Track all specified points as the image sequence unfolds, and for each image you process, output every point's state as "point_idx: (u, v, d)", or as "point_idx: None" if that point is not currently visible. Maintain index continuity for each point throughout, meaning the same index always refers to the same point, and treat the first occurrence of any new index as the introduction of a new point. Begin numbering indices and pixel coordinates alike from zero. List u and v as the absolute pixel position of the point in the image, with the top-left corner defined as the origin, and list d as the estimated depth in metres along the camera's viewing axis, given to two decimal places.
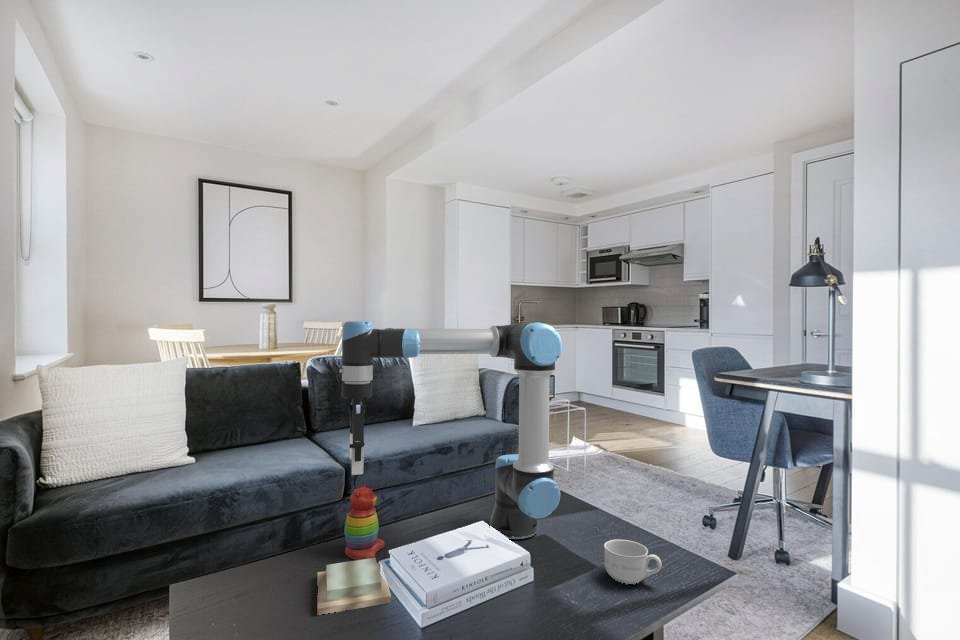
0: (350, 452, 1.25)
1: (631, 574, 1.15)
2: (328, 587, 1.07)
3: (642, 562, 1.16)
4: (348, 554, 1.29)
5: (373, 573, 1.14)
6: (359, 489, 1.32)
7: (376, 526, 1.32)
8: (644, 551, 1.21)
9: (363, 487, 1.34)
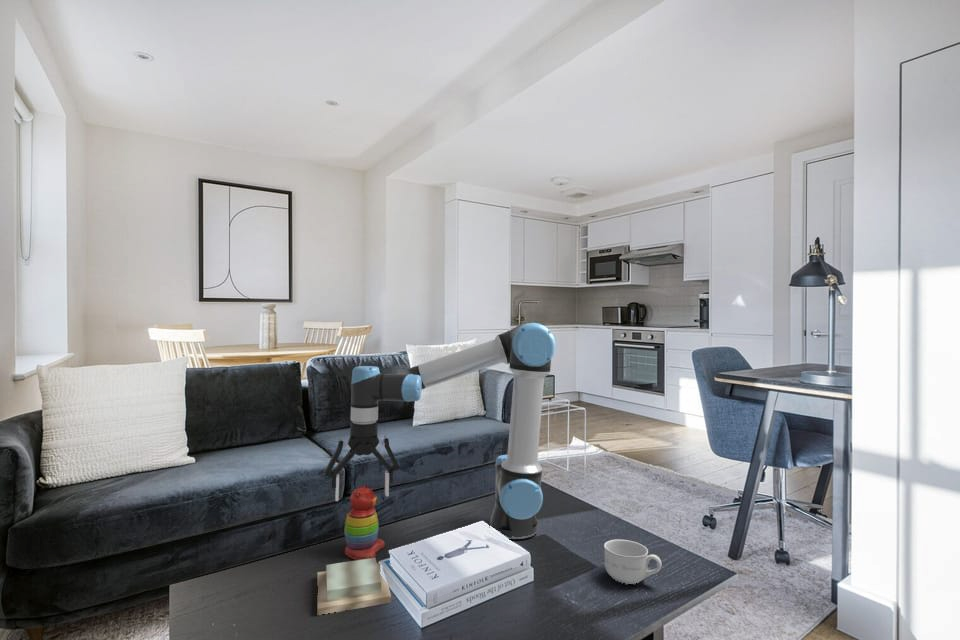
0: None
1: (631, 574, 1.15)
2: (328, 587, 1.07)
3: (642, 562, 1.16)
4: (348, 554, 1.29)
5: (373, 573, 1.14)
6: (359, 489, 1.32)
7: (376, 526, 1.32)
8: (644, 551, 1.21)
9: (363, 487, 1.34)
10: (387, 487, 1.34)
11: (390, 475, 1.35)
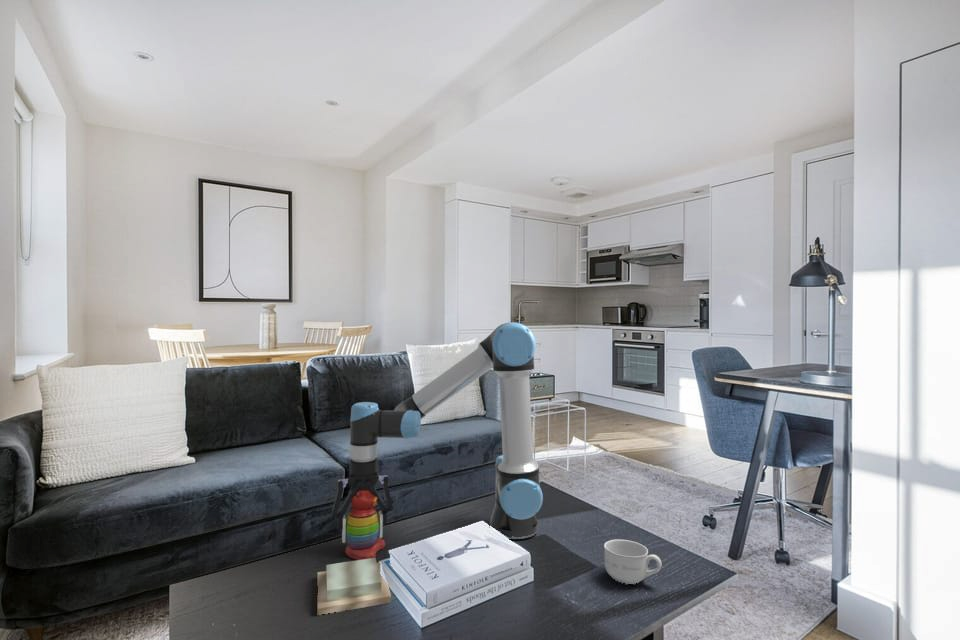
0: None
1: (631, 574, 1.15)
2: (328, 587, 1.07)
3: (642, 562, 1.16)
4: (349, 554, 1.29)
5: (373, 573, 1.14)
6: None
7: (377, 526, 1.32)
8: (644, 551, 1.21)
9: None
10: (381, 528, 1.33)
11: (384, 516, 1.34)
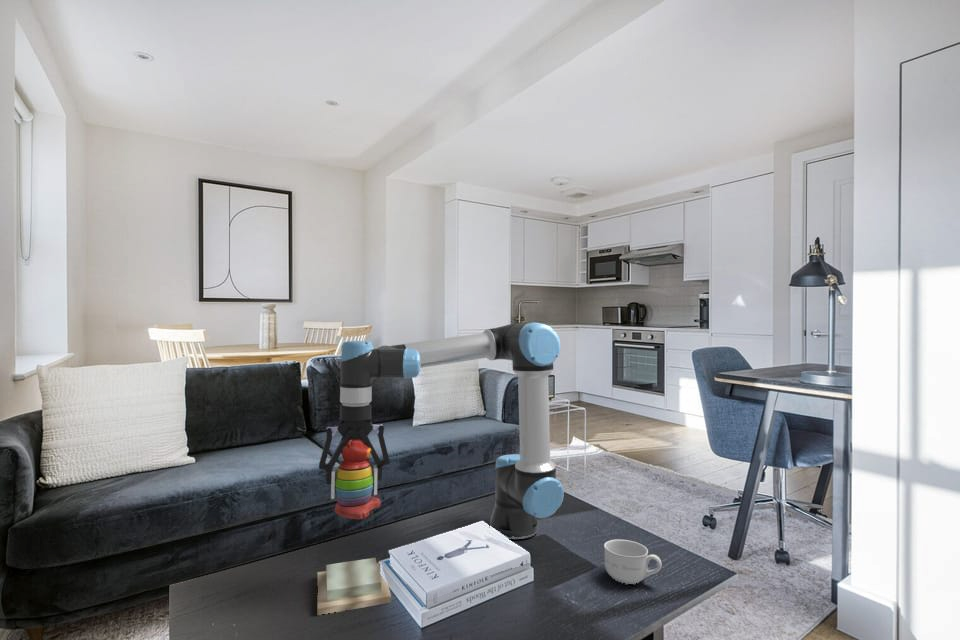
0: None
1: (631, 574, 1.15)
2: (328, 587, 1.07)
3: (642, 562, 1.16)
4: (338, 511, 1.13)
5: (373, 573, 1.14)
6: None
7: (370, 481, 1.15)
8: (644, 551, 1.21)
9: None
10: (375, 484, 1.17)
11: (379, 470, 1.18)
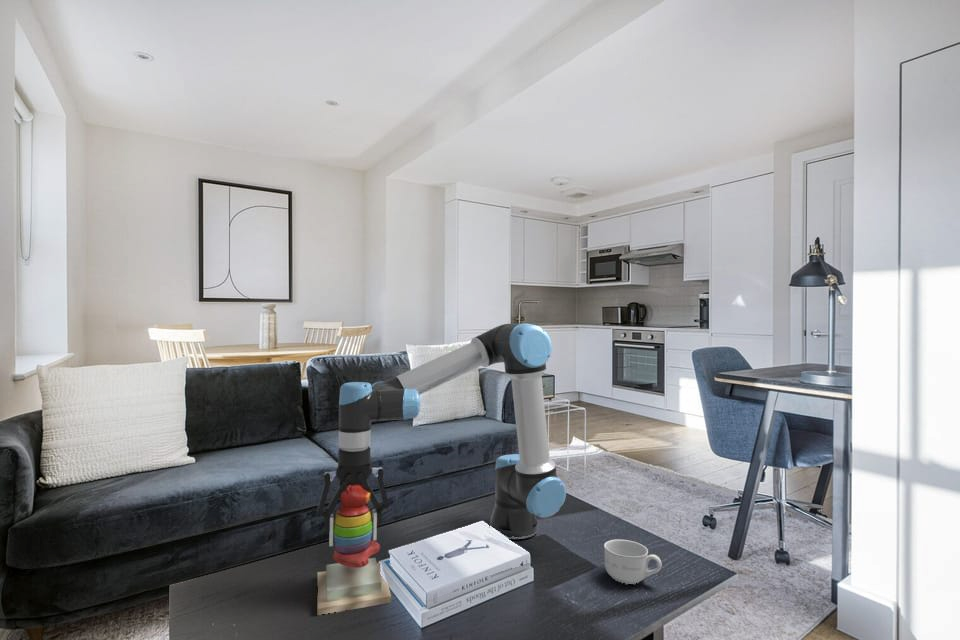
0: None
1: (631, 574, 1.15)
2: (328, 587, 1.07)
3: (642, 562, 1.16)
4: (337, 559, 1.10)
5: (373, 573, 1.14)
6: None
7: (370, 526, 1.13)
8: (644, 551, 1.21)
9: None
10: (375, 529, 1.14)
11: (379, 514, 1.15)
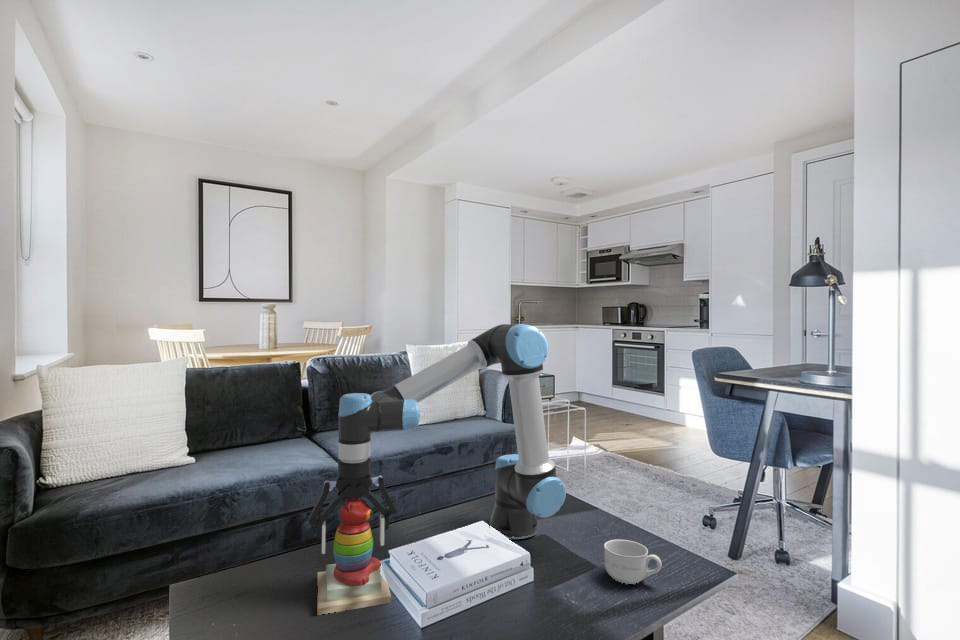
0: None
1: (631, 574, 1.15)
2: (328, 587, 1.07)
3: (642, 562, 1.16)
4: (337, 577, 1.10)
5: (373, 573, 1.14)
6: (350, 500, 1.13)
7: (370, 544, 1.13)
8: (644, 551, 1.21)
9: (355, 498, 1.15)
10: (382, 535, 1.15)
11: (386, 520, 1.16)
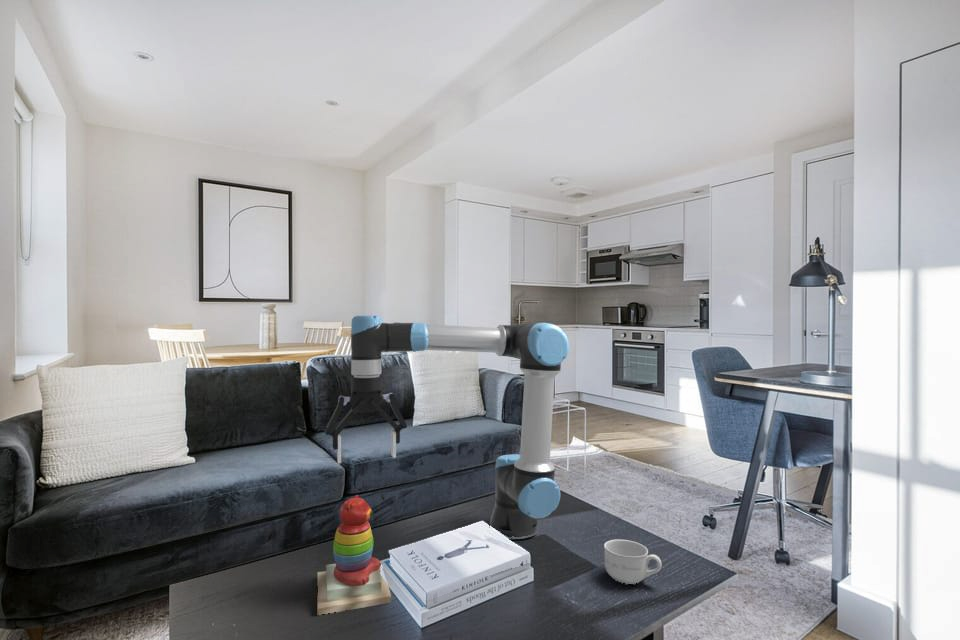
0: (391, 448, 1.24)
1: (631, 574, 1.15)
2: (328, 587, 1.07)
3: (642, 562, 1.16)
4: (337, 577, 1.10)
5: (373, 573, 1.14)
6: (350, 500, 1.13)
7: (370, 544, 1.13)
8: (644, 551, 1.21)
9: (355, 498, 1.15)
10: (394, 447, 1.22)
11: (397, 434, 1.23)
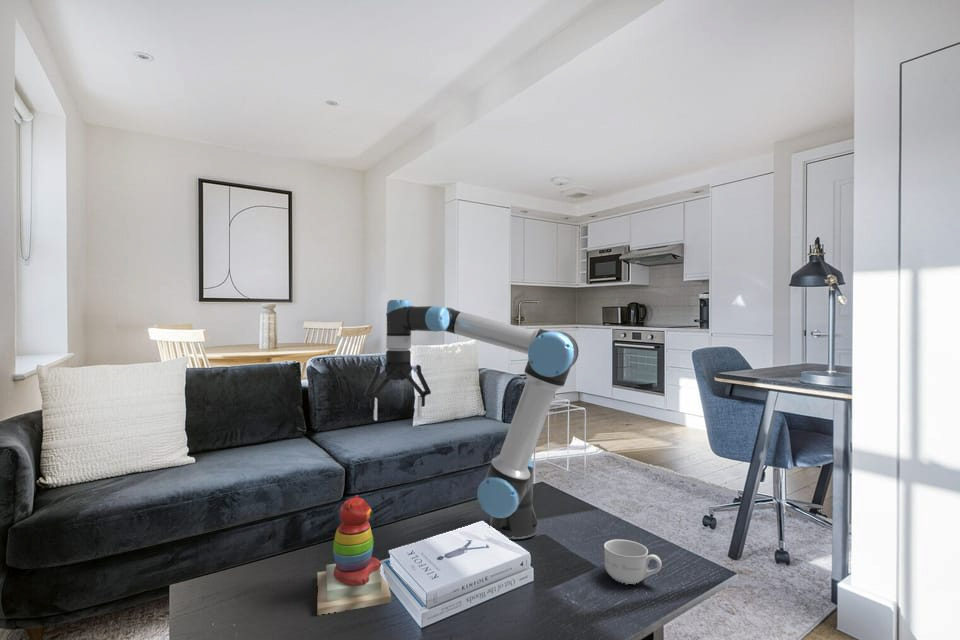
0: (417, 410, 1.49)
1: (631, 574, 1.15)
2: (328, 587, 1.07)
3: (642, 562, 1.16)
4: (337, 577, 1.10)
5: (373, 573, 1.14)
6: (350, 500, 1.13)
7: (370, 544, 1.13)
8: (644, 551, 1.21)
9: (355, 498, 1.15)
10: (420, 410, 1.47)
11: (423, 399, 1.48)
